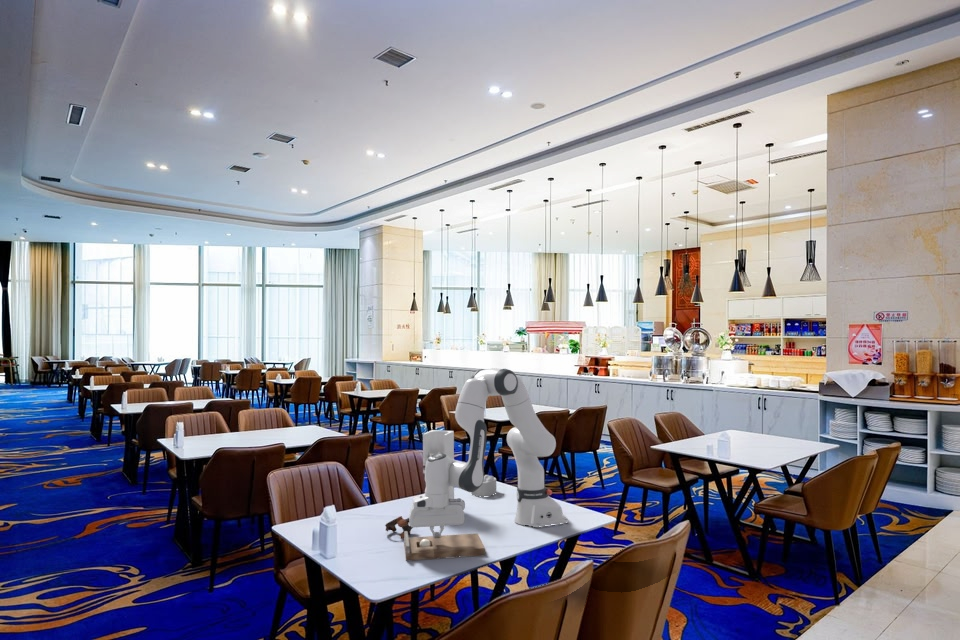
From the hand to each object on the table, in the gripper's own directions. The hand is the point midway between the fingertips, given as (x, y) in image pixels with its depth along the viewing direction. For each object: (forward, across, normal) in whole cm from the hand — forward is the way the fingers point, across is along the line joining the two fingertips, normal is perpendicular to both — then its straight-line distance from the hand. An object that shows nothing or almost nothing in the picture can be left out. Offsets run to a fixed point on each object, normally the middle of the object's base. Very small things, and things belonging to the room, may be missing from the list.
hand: (436, 537), depth 210 cm
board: (+5, -2, 0) cm, 5 cm away
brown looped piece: (+5, +12, -20) cm, 24 cm away
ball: (+2, +4, 0) cm, 5 cm away
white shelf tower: (+5, -6, -48) cm, 49 cm away
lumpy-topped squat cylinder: (+5, -31, -72) cm, 79 cm away
